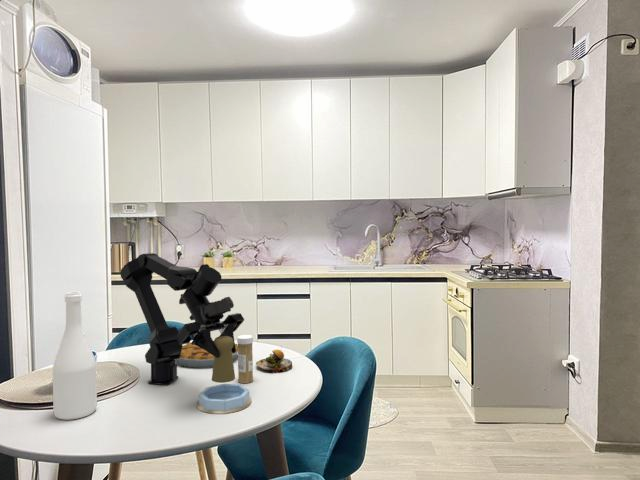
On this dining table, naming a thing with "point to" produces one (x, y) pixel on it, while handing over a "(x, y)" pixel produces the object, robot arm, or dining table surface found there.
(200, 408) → the placemat
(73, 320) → the wine bottle
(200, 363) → the pie
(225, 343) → the cork
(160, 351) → the robot arm
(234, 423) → the dining table surface
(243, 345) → the sprinkles bottle
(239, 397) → the bowl
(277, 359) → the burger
